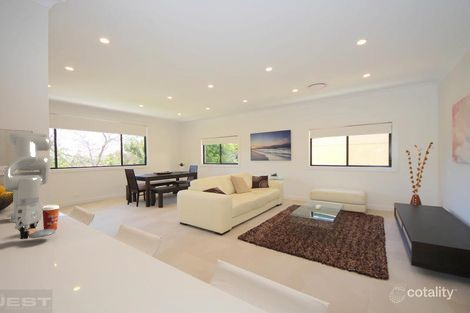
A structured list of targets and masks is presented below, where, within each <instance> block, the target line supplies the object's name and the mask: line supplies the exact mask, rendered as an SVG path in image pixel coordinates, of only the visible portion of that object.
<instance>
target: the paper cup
mask: <svg viewBox="0 0 470 313" xmlns="http://www.w3.org/2000/svg"><path fill="white" fill-rule="evenodd" d="M59 209H60V206H59V205H58V204H47V205H44V206H42V208H41V211H42V222H43V223H42V224H43V225H42V226H43V230H45V229H55V231H56V230H57V229H58V220H59V219H58V218H59Z"/></svg>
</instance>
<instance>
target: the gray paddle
mask: <svg viewBox="0 0 470 313" xmlns="http://www.w3.org/2000/svg"><path fill="white" fill-rule="evenodd" d="M27 231H28V239H29V238H30V239H38V238H40V239H41V238H45V237H48V236H51V235H53V234H55V233H56V230H55V229H45V230H44V229H41V230H37V227H36V228H31V229H28V228H27Z"/></svg>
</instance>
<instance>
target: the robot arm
mask: <svg viewBox="0 0 470 313" xmlns="http://www.w3.org/2000/svg"><path fill="white" fill-rule="evenodd" d="M8 139H9V141H10V143H11V144H12V147H13V148H14V152H15V155H14V156H15V157H14V159H15V160H13V161H12V162H10V163H9V164H8V166H6V168H5V170H4V173H3V187H4V189H5V190H7V191H12V193H13V194H12V195H13V196H12V197H13V198H12V199H13V201H12V204H13V205H12V207H13V208H12V209H13V210H12V212H9V213H8V214H7V215H6V216H7V217H8V218H9V217H10V218H9V222H10V223H15V225H14V229H16V230H17V231H18V232H19V239H20V240H27V239H29V236H28V231H27V229H31V228H36V229H37V227H38V223H39V222H40V221H41V220H42V206H41V202H40V188H41V187H42V186H43V185H46V184H47V183H48V181H49V173H50V172H49V169H50V161H49V158H47V157H46V156H43V155H38V153H39V152H38V151H40V152H41V151H43V152H44V151H45V152H46V151H49V150H50V149H51V146H52V143H51V138H50V137H49V135H48V134H46V133H35V132H33V133H31V132H20V131H19V132H18V131H17V132H11V133H10V134H9V138H8ZM15 171H19V172H15ZM13 172H15V173H13ZM28 226H29V227H28Z"/></svg>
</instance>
